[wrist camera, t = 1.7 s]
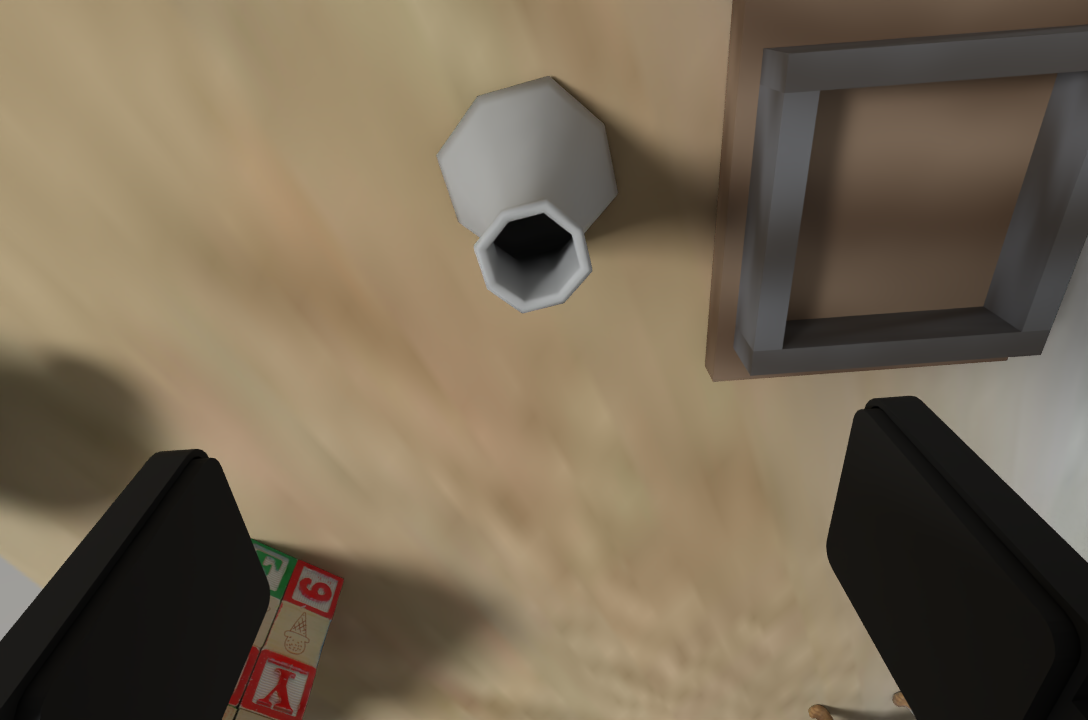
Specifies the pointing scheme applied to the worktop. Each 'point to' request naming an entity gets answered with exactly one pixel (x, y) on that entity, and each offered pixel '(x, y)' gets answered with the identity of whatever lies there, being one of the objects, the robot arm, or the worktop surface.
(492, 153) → the flask
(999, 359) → the board
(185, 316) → the worktop surface
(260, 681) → the stack of blocks
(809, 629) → the worktop surface
